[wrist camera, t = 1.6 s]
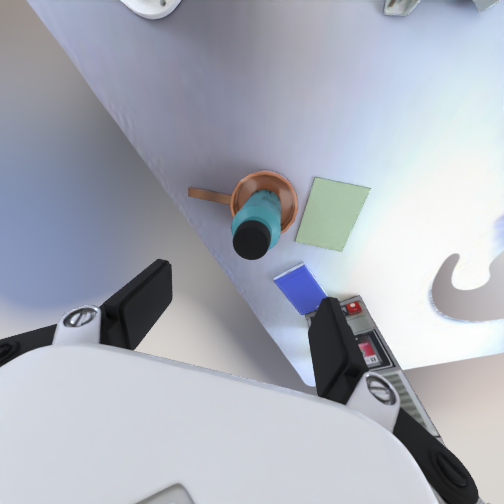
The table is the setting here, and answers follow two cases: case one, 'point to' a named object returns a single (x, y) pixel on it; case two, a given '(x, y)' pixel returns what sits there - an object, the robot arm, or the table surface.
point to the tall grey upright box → (382, 359)
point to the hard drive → (301, 288)
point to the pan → (268, 182)
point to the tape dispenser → (403, 3)
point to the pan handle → (209, 195)
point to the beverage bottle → (257, 225)
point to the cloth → (331, 213)
